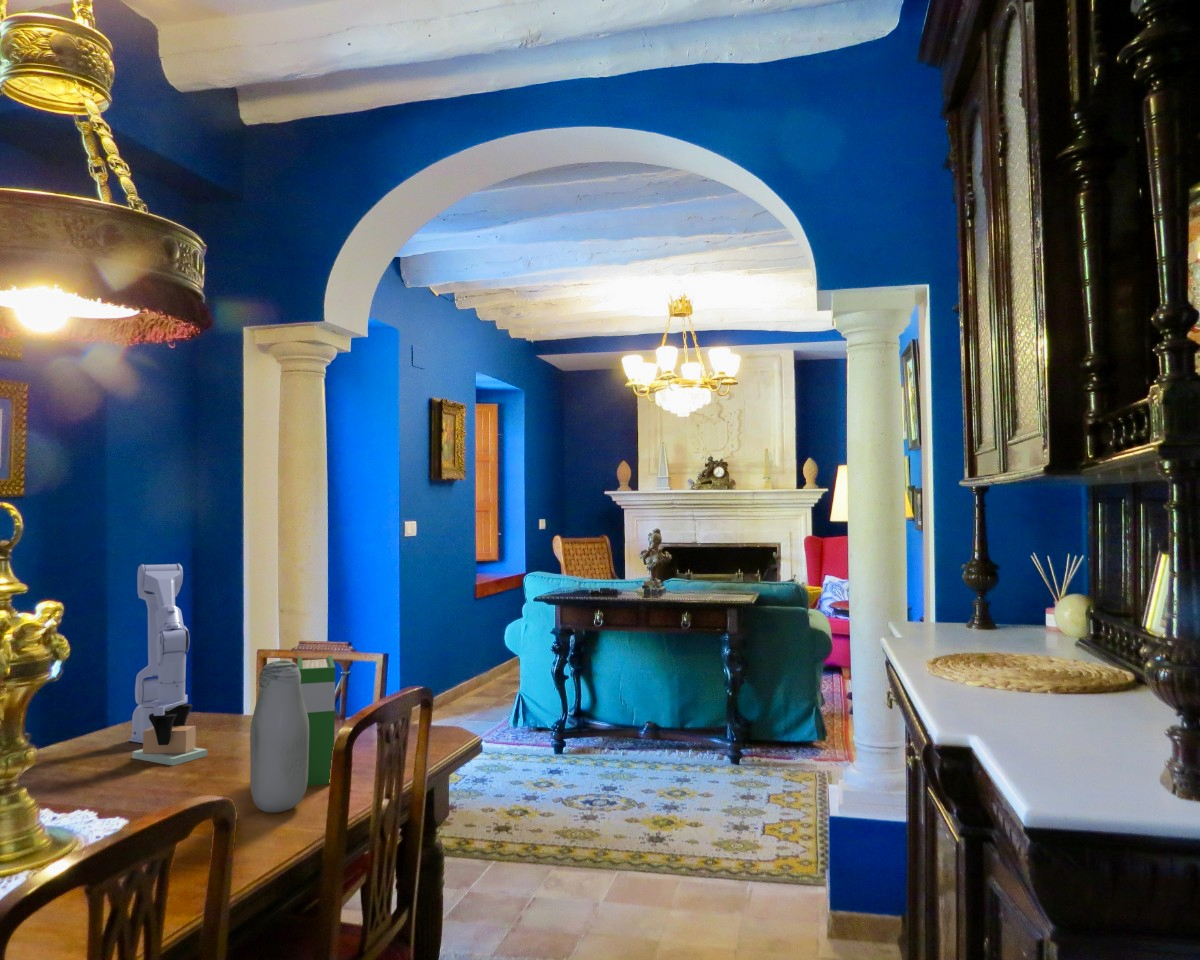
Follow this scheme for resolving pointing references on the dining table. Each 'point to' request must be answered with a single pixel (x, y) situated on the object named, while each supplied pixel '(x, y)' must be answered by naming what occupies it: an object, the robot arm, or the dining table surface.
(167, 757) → the header board
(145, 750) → the block
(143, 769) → the dining table surface
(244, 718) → the dining table surface
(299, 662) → the hardback book
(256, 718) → the gray bottle
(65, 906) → the dining table surface
